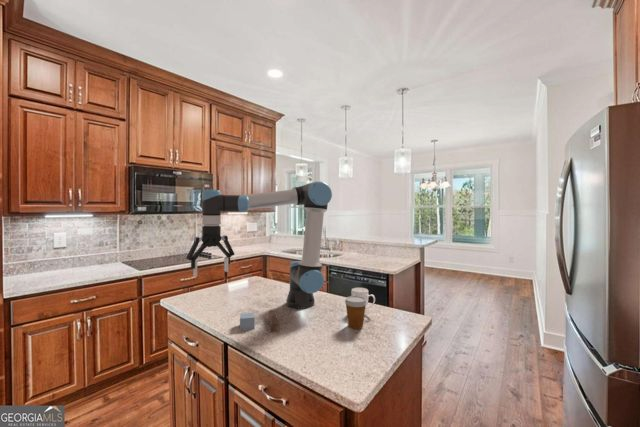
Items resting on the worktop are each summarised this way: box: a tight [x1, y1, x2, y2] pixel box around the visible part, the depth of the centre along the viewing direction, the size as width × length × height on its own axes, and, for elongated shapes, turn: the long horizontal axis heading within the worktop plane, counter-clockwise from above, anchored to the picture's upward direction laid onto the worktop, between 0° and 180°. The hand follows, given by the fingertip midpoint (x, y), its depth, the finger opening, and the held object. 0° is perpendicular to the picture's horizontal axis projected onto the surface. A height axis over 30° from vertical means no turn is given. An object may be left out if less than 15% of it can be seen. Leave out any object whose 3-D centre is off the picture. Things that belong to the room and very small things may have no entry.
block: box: [239, 312, 256, 330], centre depth 124 cm, size 6×6×5 cm
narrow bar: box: [268, 309, 279, 333], centre depth 126 cm, size 3×16×4 cm, turn 13°
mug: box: [350, 287, 376, 311], centre depth 141 cm, size 12×8×11 cm
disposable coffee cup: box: [344, 295, 368, 330], centre depth 125 cm, size 10×10×12 cm
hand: (211, 273), depth 126 cm, fingers open, 13 cm apart
